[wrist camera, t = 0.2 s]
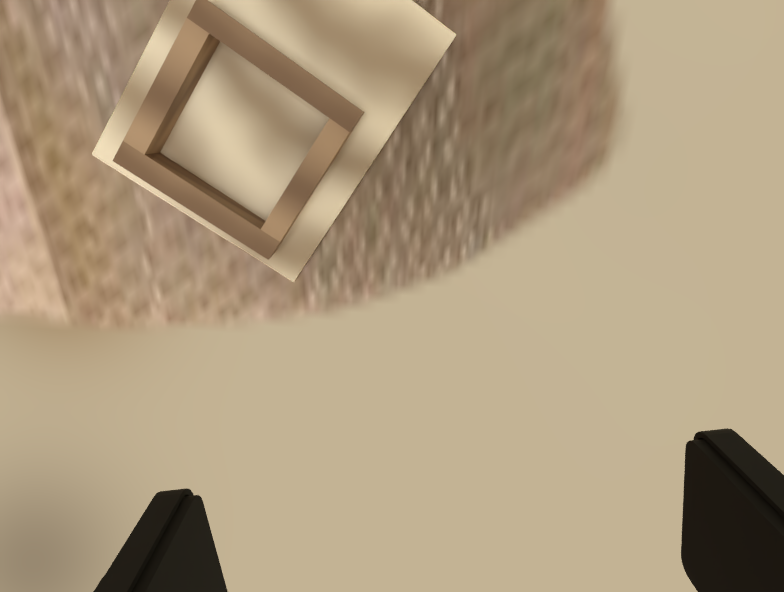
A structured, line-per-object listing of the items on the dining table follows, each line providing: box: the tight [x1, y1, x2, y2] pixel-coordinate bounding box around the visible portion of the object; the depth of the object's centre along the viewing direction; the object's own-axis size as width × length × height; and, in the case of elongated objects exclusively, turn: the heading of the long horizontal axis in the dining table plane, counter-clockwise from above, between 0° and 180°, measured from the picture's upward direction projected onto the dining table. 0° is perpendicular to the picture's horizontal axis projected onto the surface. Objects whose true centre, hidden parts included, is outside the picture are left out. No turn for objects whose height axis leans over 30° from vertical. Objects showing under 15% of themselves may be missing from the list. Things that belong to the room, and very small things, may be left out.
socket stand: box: [92, 0, 456, 282], centre depth 36 cm, size 20×16×4 cm
